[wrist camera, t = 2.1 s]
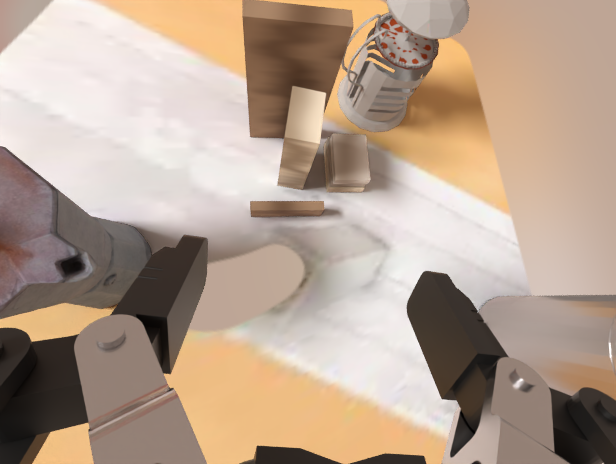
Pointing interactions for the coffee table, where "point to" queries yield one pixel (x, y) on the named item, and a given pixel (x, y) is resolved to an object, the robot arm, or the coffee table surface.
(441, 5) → the french press
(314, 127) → the light wooden block
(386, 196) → the coffee table surface
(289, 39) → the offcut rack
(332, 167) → the offcut stack
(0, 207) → the moka pot
